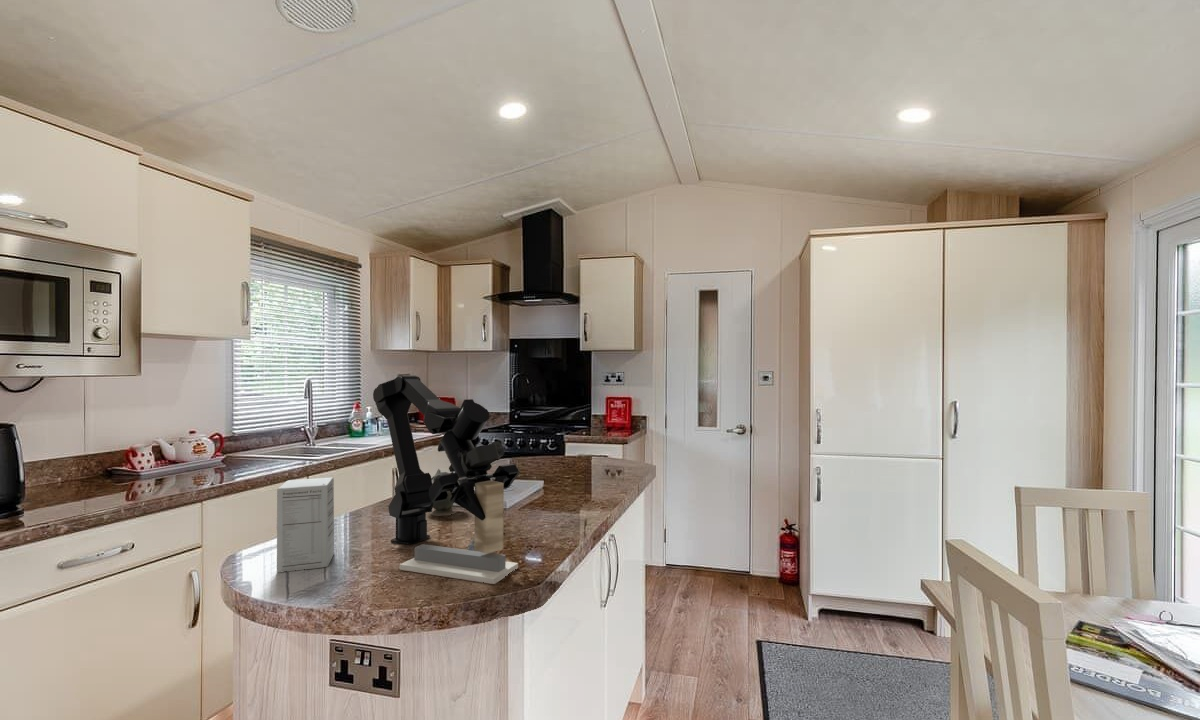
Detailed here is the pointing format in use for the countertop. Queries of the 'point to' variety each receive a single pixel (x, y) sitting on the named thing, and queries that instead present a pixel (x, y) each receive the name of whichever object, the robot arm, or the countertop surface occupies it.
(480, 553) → the ridge stand
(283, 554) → the supplement box
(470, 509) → the robot arm
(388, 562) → the countertop surface
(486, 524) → the brass post
